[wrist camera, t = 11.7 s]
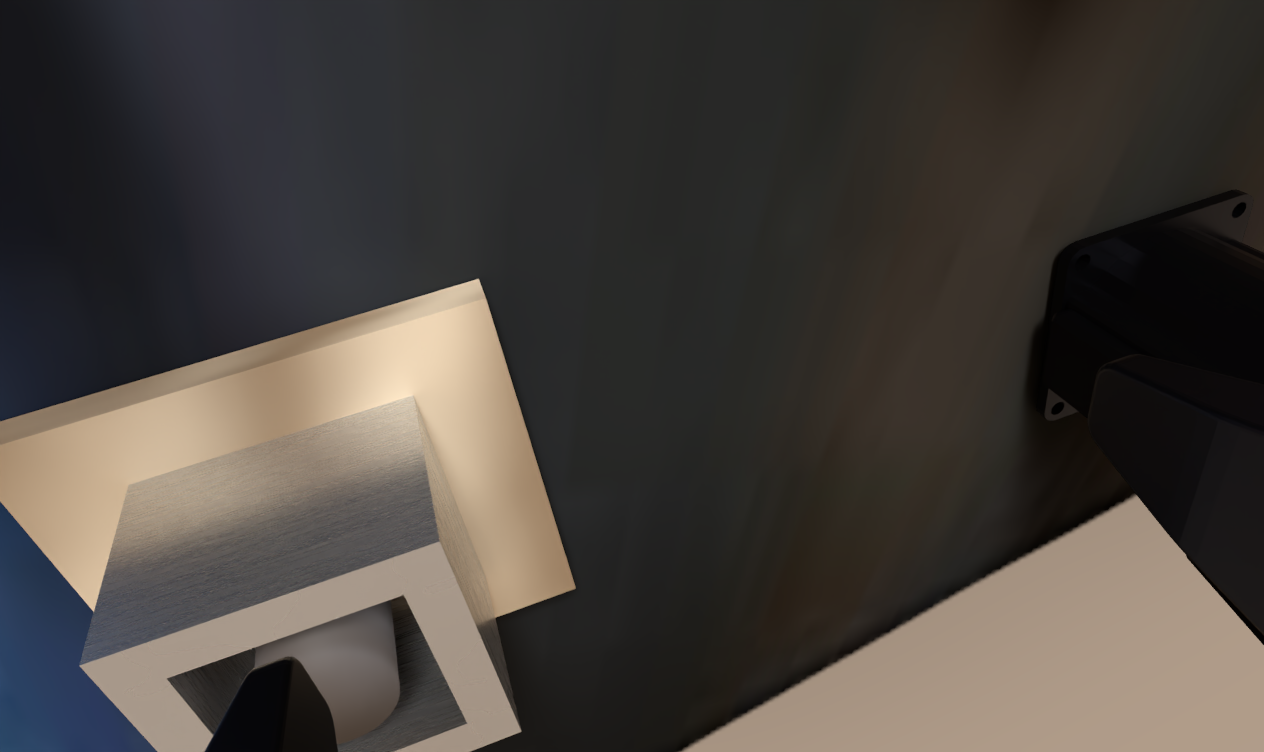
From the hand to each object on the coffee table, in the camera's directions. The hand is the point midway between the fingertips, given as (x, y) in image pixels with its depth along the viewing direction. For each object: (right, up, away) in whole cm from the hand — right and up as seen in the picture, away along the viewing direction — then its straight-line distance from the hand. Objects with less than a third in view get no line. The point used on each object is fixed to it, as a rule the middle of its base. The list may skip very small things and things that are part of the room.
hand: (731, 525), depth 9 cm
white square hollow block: (-9, -2, +12) cm, 15 cm away
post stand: (-9, -2, +13) cm, 16 cm away
